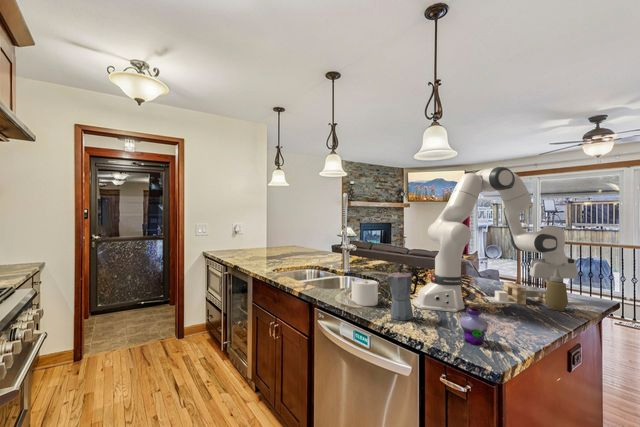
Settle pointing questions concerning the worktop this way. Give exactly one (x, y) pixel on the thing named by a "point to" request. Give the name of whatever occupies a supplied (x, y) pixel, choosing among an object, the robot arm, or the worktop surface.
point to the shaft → (535, 293)
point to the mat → (499, 301)
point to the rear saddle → (541, 299)
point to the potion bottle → (474, 326)
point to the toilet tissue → (365, 292)
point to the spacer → (501, 295)
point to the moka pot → (401, 294)
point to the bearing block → (515, 292)
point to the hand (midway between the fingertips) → (553, 287)
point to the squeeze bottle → (556, 293)
